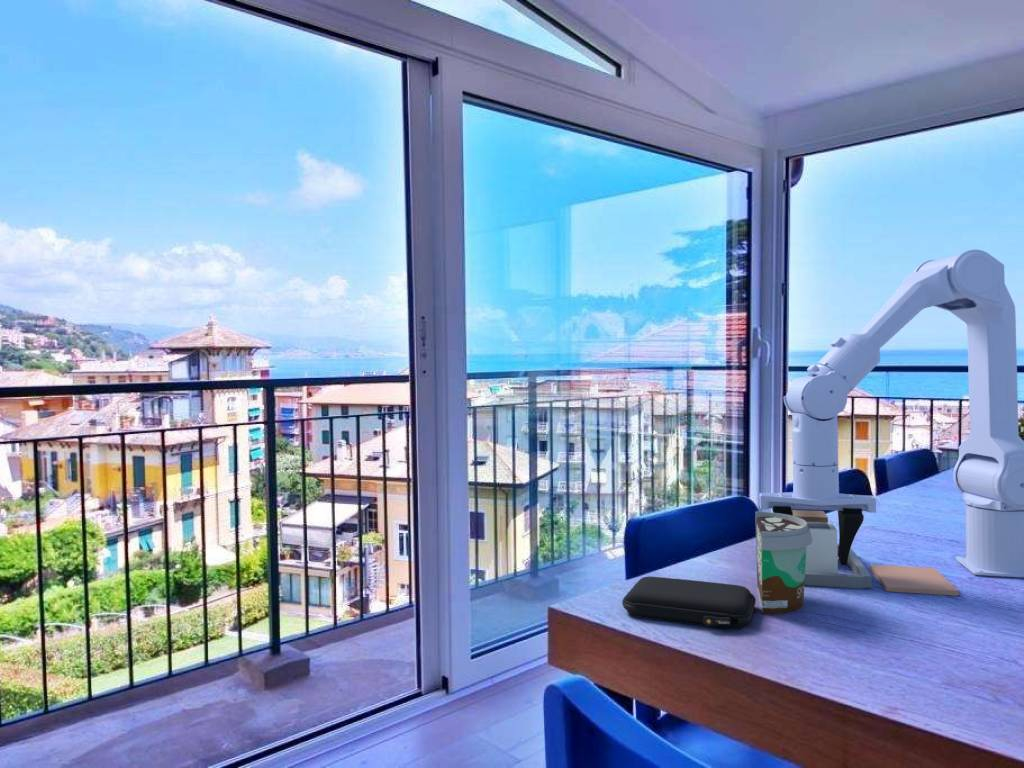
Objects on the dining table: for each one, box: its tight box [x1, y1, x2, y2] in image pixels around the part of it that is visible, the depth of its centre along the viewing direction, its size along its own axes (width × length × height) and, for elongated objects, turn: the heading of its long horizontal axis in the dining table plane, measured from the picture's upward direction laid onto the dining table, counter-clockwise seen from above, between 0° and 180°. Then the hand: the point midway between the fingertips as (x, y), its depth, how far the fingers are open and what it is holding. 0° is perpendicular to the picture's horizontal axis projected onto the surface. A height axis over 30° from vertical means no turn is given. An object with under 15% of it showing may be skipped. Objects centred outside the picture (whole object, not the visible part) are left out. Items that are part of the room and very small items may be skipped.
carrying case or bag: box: [621, 576, 757, 630], centre depth 82 cm, size 11×3×15 cm
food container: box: [754, 511, 813, 615], centre depth 84 cm, size 12×6×10 cm, turn 164°
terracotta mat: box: [869, 564, 960, 597], centre depth 91 cm, size 8×10×1 cm
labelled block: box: [805, 522, 839, 574], centre depth 94 cm, size 4×4×7 cm
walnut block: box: [791, 509, 829, 523], centre depth 102 cm, size 4×4×7 cm
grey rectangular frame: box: [804, 543, 873, 590], centre depth 98 cm, size 12×17×2 cm
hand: (817, 562), depth 94 cm, fingers open, 6 cm apart
